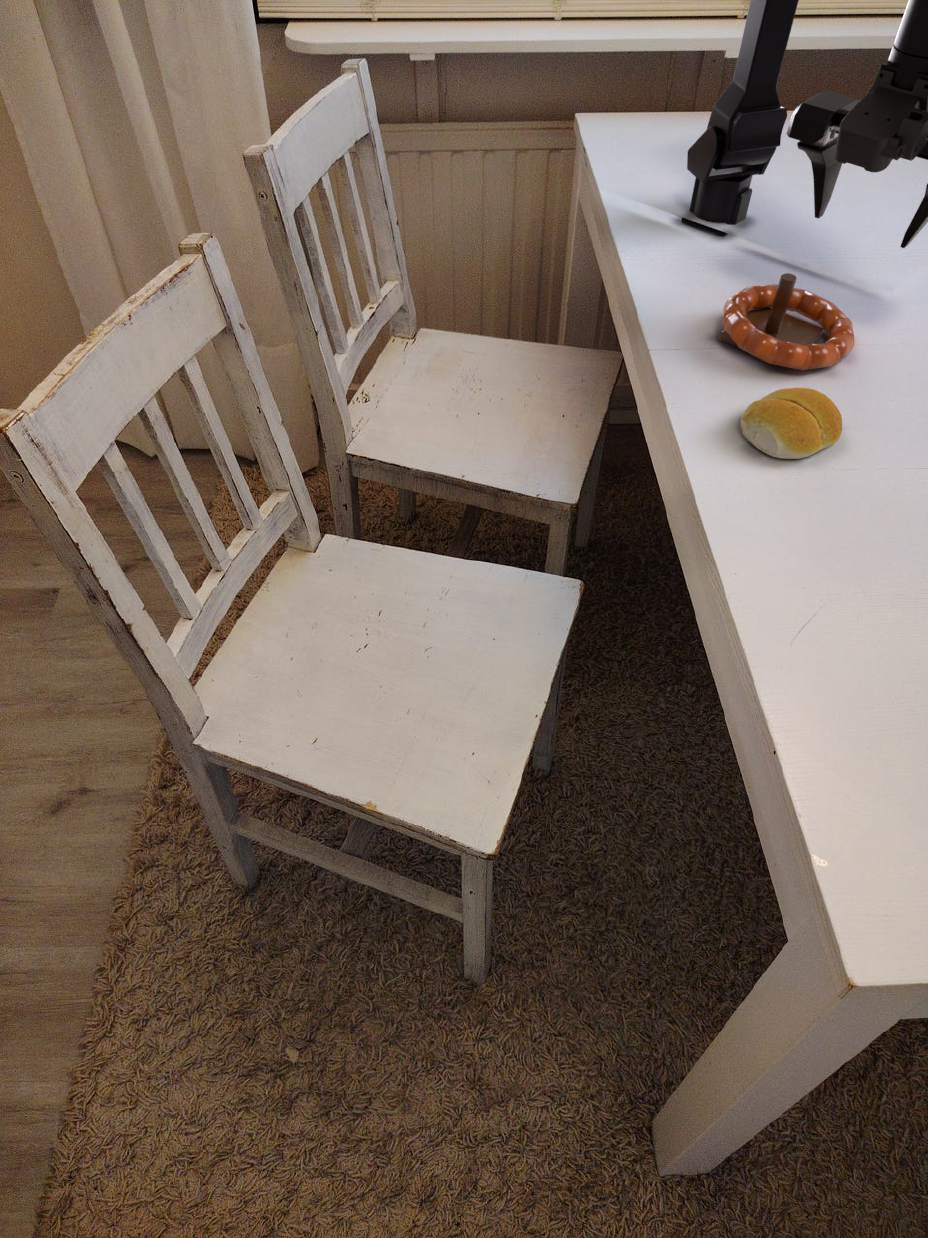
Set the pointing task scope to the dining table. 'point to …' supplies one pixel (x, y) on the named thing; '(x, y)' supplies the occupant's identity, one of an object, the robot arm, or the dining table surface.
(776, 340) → the segmented orange ring
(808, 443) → the bread roll
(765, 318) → the stand
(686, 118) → the dining table surface
